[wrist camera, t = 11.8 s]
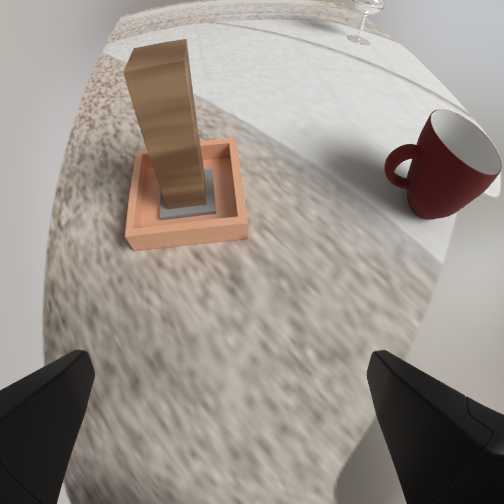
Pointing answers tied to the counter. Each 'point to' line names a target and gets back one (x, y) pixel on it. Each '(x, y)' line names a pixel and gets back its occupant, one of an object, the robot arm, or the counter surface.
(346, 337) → the counter surface
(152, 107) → the wood grain bar
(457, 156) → the mug
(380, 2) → the wineglass
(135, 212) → the dish
